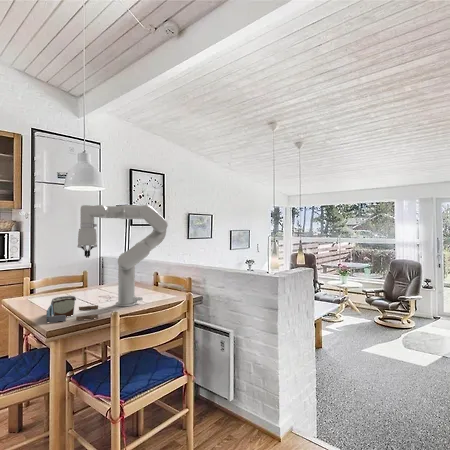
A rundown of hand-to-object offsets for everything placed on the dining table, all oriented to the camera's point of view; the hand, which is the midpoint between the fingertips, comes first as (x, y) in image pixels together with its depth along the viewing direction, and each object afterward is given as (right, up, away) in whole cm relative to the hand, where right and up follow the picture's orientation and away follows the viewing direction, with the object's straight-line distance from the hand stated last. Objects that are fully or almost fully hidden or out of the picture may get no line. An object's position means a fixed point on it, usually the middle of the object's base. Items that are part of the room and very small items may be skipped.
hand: (87, 257), depth 190 cm
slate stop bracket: (-6, -29, -22) cm, 37 cm away
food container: (-5, -29, -21) cm, 36 cm away
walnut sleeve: (+7, -29, -17) cm, 34 cm away
